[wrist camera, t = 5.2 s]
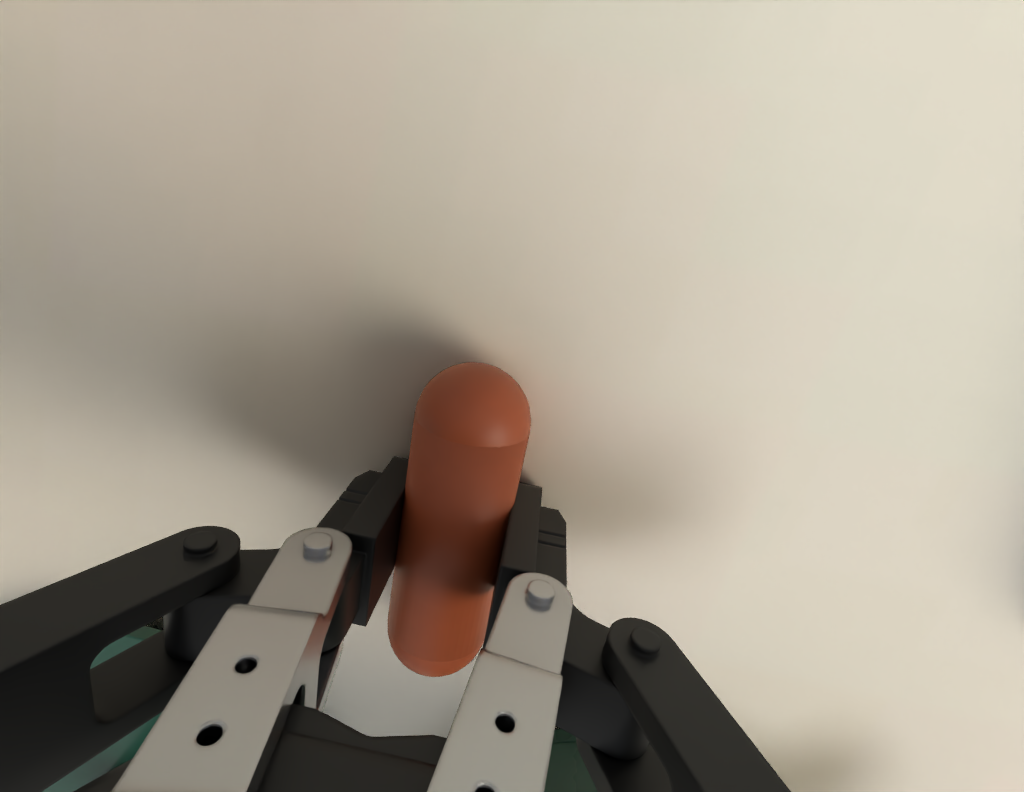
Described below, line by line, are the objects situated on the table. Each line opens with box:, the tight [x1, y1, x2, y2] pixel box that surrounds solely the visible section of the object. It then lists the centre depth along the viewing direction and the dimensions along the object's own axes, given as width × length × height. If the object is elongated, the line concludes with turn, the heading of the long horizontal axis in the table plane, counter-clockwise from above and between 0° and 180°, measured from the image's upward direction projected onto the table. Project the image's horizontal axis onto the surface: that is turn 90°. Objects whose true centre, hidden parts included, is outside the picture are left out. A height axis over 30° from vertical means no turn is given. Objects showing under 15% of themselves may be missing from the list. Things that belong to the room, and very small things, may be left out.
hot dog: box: [388, 362, 531, 677], centre depth 13 cm, size 8×3×3 cm, turn 170°
